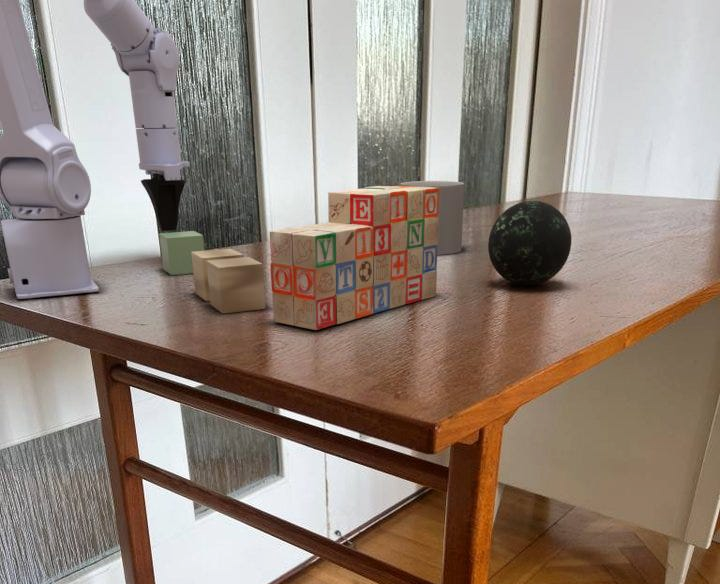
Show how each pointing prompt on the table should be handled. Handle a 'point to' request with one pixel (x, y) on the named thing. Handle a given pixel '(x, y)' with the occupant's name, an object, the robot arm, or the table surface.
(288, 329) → the table surface
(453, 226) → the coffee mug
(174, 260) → the sage block
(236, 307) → the front birch block
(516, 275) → the decorative stone
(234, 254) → the middle birch block
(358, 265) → the stack of blocks
